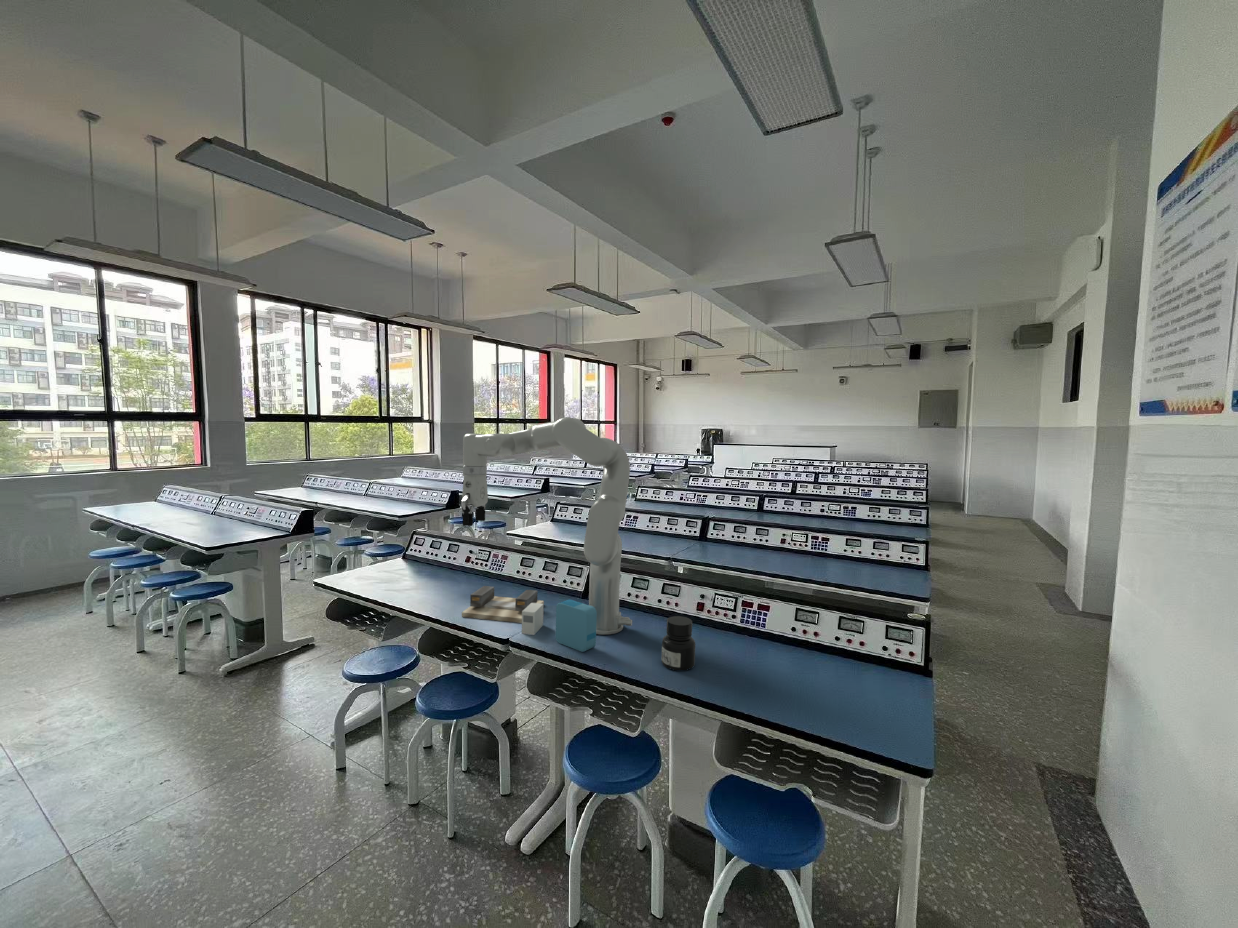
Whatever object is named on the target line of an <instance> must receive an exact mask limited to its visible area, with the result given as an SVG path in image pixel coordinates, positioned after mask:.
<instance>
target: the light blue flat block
mask: <svg viewBox="0 0 1238 928" xmlns="http://www.w3.org/2000/svg"><path fill="white" fill-rule="evenodd" d="M555 607H556V608H555V640H556V642H557V643H558V644H561V645H563V646H566V647H568V648H570V649H574V650H576V651H579V652H582V653H584V652H586V651H589V650H590V649H592V648H595V646H596V644H597V634H596V621H597V611H596V609H595V608H594V607H593V606H590V605H589V604H586V603H582V602H579V601H576V600H573V599H570V598H569V599H566V600H563V601H560V602H558V603H557V604H556V606H555Z"/></svg>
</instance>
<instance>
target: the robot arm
mask: <svg viewBox="0 0 1238 928" xmlns="http://www.w3.org/2000/svg"><path fill="white" fill-rule="evenodd" d="M462 439H463V440H462V477H463V482H462V494H461V495H462V497H461V498H462V499H461V501H460V505H461V514H462V526H463V527H472V526H473V524H474V514H473V513H472V512H473V511H474V507H475V521H477V522H484V521H486V508H487V506H486V504H487V503H488V502H489V501H488V497H489V496H488V491H489V490H488V481H487V480H488V479H487V475H488V474H487V473H488V472H487V469H488V467H487V466H488V459H487V458H489V457H490V458H498V457H499V458H500V457H508V456H513V455H520V454H526V453H532V452H541V451H548V450H552V449H553V450H554V449H558V448H564V449H566V451H569V452H570V453H571V454H573V455H574V456H575V457H577V458H579V459H580V460H582V462H583V461H584V462H585V463H587V464H589V465H590V466H594V467H602V468H603V472H602V477H601V482H600V490H599V495H598V499H597V500H595V502H593V503H592V505H591V507H590V508H589V511H588V517H587V521H586V522H587V523H586V528H585V529H586V530H585V534H584V535H585V536H584V542H583V554H584V557H585V558H586V560H587V562H589V563H590V565H589V581H588V582H589V586H588V587H589V588H588V592H589V593H588V605H590V606H593V607H594V608H595V609H596V611H597V621H596V635H605V636H606V635H614V634H617V633H619V632H622V630H623V629H624V626H627V627H632V626H633V619H630V616H623V615H622V612H621V611H620V584H621V582H620V581H621V560H622V550H623V543H622V538H621V536H620V534H619V528H620V523H621V522H622V521H623V519H624V517H625V514H626V505H627V497H628V490H629V481H630V474H631V463H630V459H629V456H628V454H627V452H626V450H625V449H624V448H623V447H622V446H621V444H620V443H618V442H616V441H615V440H613V439H610V438H607V437H600V436H598V435H597V434H595V433H594V432H592V431H590V430H589V429H587V426H586V425H585V423H584V422H583V421H582V420H581V419H579V418H576V417H569V416H565V417H561V418H559V419H558V420H555V421H549V422H544V423H538V424H534V425H532V426H531V427H530V428H527V429H525V430H524V429H523V430H520V431H514V432H508V433H486V434H484V433H466V434H464V435H463V438H462Z"/></svg>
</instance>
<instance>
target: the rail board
mask: <svg viewBox="0 0 1238 928" xmlns="http://www.w3.org/2000/svg"><path fill="white" fill-rule="evenodd" d="M469 598H470V601H469V603H470V604H469V605H470V606H468V607H467V608H466V609H464V610H463V611H462V612H461V618H471V619H480V620H489V621H490V620H491V621H499V622H507V623H508V622H510V623H517V624H518V623H519V624H522V611H523V610H524V609H525V608H526V607H527V606H528V605H530V604H531V603H539V604H543V606H545V605H544V604H545V601H544V600H540V599H538V590H533V589H526V590H524V591H523V592H522V593H521V594H519V595H518V596H517V597H507V596H506V597H505V596H497V595H495V586H490V585H488V586H487V585H483V586H482V587H480V588H478V589H477V590H475V591H474V592H472V593H471V594H470V597H469Z"/></svg>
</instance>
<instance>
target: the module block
mask: <svg viewBox="0 0 1238 928" xmlns="http://www.w3.org/2000/svg"><path fill="white" fill-rule="evenodd" d="M543 626H544V605H543V604H539V603H531V604H530V605H528V606H527V607H526V608H525V609H524V610H523V611H522V623H521V634H522V635H532V636H534V635H536V634H537V632H538V631H540V629H541V628H542V627H543Z"/></svg>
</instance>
